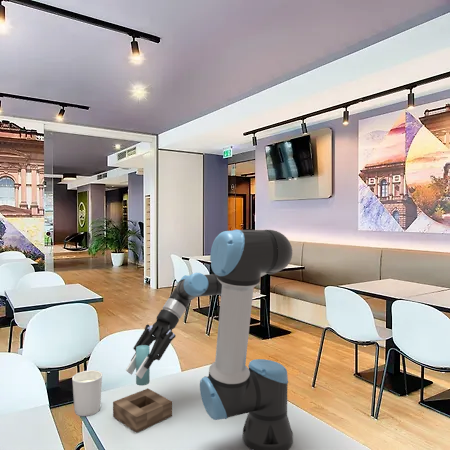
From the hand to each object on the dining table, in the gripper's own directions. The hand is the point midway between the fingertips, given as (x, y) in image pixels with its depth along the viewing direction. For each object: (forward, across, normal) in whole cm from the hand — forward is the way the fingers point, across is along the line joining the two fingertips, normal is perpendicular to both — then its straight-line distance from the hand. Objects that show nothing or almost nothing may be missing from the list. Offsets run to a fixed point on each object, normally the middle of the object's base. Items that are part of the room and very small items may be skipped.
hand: (133, 374), depth 127 cm
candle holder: (+15, +18, -7) cm, 24 cm away
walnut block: (+8, 0, -14) cm, 16 cm away
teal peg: (0, 0, -6) cm, 6 cm away
